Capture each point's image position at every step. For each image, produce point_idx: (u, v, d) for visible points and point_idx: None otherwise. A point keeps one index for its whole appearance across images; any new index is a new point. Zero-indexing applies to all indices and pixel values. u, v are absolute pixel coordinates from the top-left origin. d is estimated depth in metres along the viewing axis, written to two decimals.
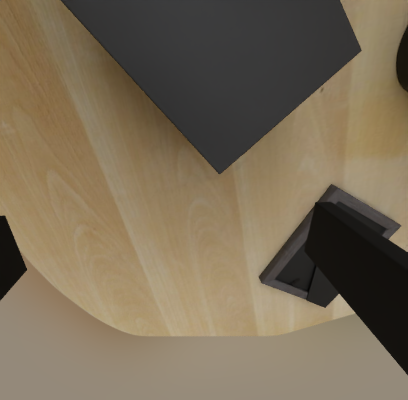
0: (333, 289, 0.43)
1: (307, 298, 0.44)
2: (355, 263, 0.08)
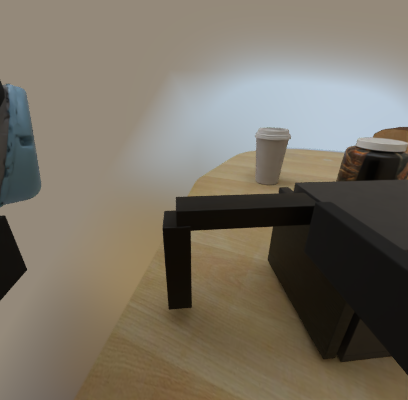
0: None
1: None
2: (355, 263, 0.08)
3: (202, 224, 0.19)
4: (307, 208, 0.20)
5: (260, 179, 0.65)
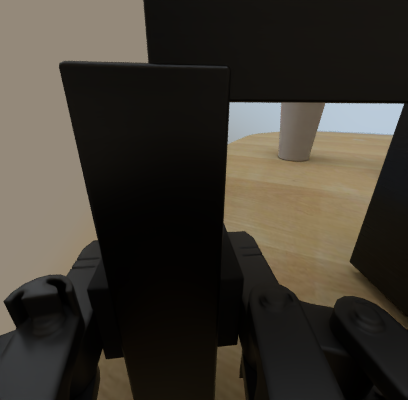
0: None
1: None
2: None
3: (298, 57, 0.03)
4: None
5: (286, 154, 0.49)
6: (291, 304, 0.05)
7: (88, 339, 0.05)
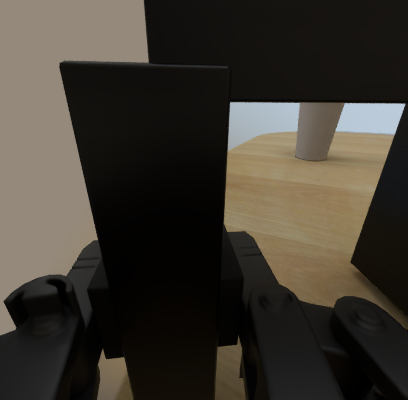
0: None
1: None
2: None
3: (300, 56, 0.03)
4: None
5: (304, 153, 0.49)
6: (291, 304, 0.05)
7: (88, 338, 0.05)
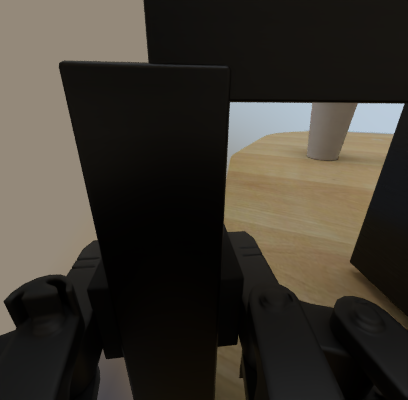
0: None
1: None
2: None
3: (299, 56, 0.03)
4: None
5: (316, 153, 0.49)
6: (291, 304, 0.05)
7: (88, 338, 0.05)
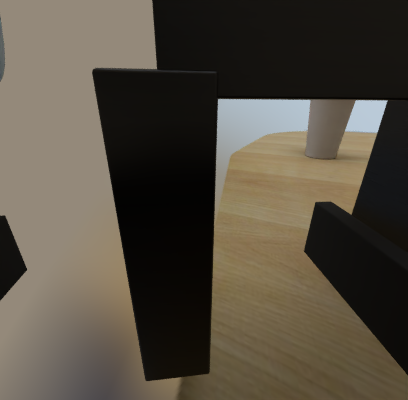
0: None
1: None
2: (355, 263, 0.08)
3: (270, 63, 0.04)
4: None
5: (314, 152, 0.50)
6: None
7: None
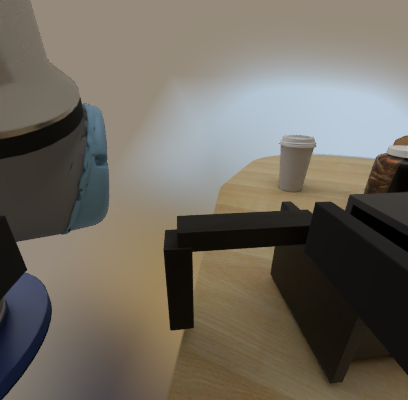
0: None
1: None
2: (355, 263, 0.08)
3: (204, 245, 0.19)
4: None
5: (284, 186, 0.65)
6: None
7: None
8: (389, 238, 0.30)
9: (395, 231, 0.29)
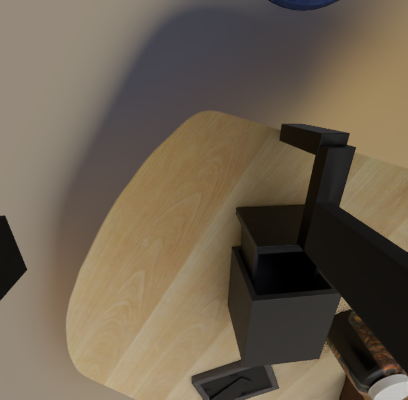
0: None
1: None
2: (355, 263, 0.08)
3: (316, 165, 0.25)
4: (305, 242, 0.28)
5: None
6: None
7: None
8: None
9: None
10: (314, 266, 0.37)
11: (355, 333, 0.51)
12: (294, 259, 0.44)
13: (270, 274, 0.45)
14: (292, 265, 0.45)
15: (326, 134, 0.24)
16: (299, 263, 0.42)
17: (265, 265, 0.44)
